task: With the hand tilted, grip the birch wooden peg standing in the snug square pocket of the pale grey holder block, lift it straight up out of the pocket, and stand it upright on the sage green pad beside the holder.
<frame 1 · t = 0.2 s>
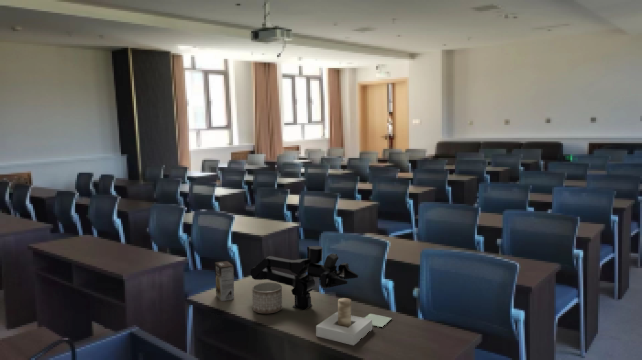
hand: (352, 279, 202), 17 cm above the table, tool horizontal, fingers open, 9 cm apart
green pad: (375, 321, 200), on the table
coffee box: (225, 297, 229), on the table
planter: (267, 310, 213), on the table
pocket block: (344, 332, 190), on the table
wooden peg: (344, 316, 189), in the pocket block
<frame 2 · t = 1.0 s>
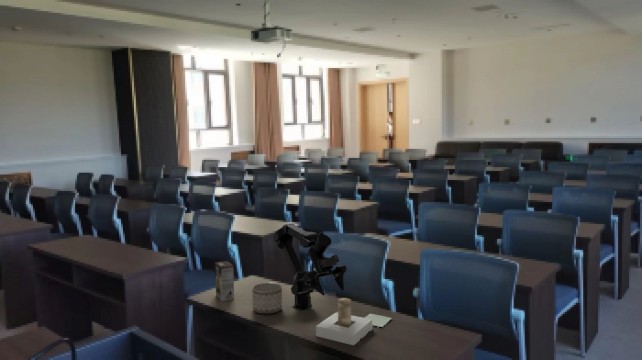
hand: (333, 292, 194), 14 cm above the table, tool tilted 45°, fingers open, 9 cm apart
nothing on the table moved.
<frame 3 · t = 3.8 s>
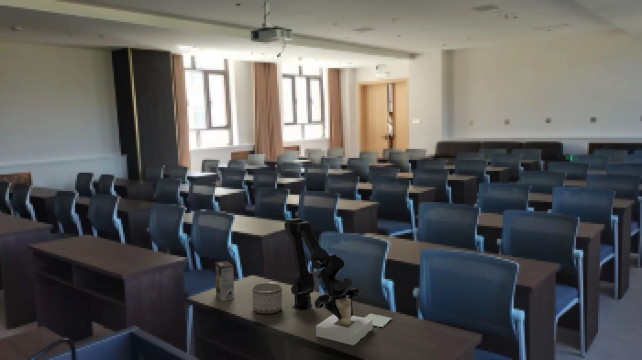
hand: (346, 317, 188), 7 cm above the table, tool tilted 45°, fingers closed on wooden peg, 5 cm apart
wooden peg: (344, 316, 189), in the pocket block, touching gripper
everything else where it was.
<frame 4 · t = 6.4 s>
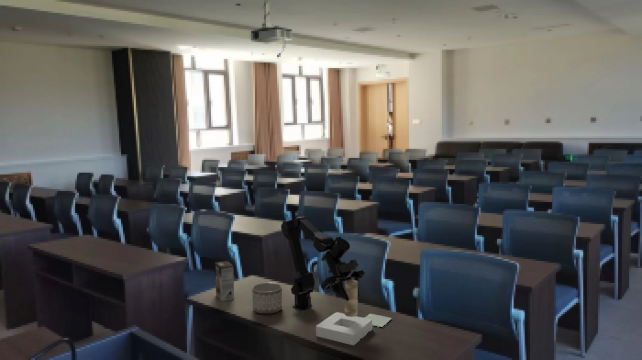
hand: (353, 298, 188), 14 cm above the table, tool tilted 45°, fingers closed on wooden peg, 5 cm apart
wooden peg: (351, 298, 189), point 13 cm above the table, touching gripper
everything else where it was.
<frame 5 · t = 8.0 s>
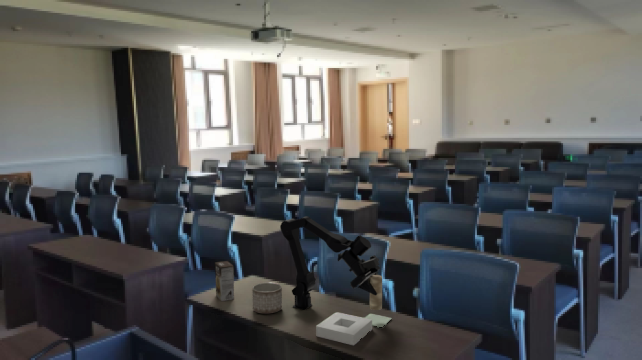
hand: (378, 292, 198), 12 cm above the table, tool tilted 45°, fingers closed on wooden peg, 5 cm apart
wooden peg: (375, 292, 199), point 12 cm above the table, touching gripper
everything else where it was.
when the fingers open (8 cm above the table, at t = 9.1 s): wooden peg drops 1 cm, resting on green pad.
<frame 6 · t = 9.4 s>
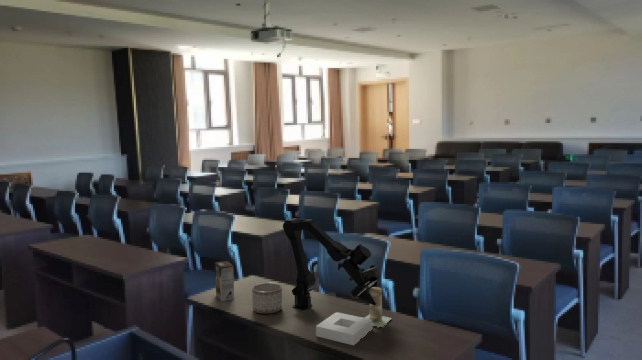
hand: (379, 301, 198), 9 cm above the table, tool tilted 45°, fingers open, 8 cm apart
wooden peg: (375, 304, 199), on the green pad, point 7 cm above the table
everything else where it was.
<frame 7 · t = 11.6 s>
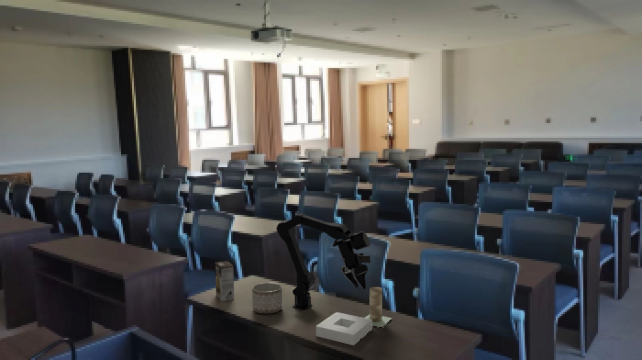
hand: (360, 288, 206), 12 cm above the table, tool tilted 20°, fingers open, 9 cm apart
nothing on the table moved.
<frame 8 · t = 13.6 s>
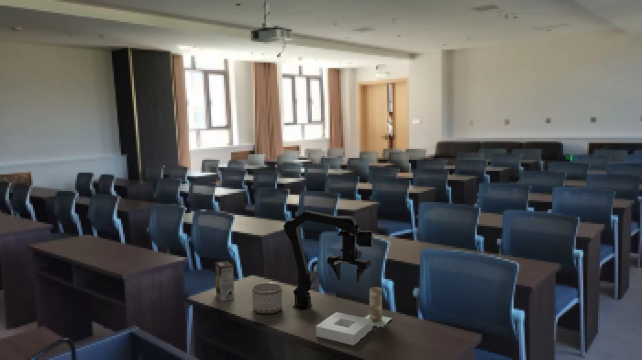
hand: (348, 281, 211), 13 cm above the table, tool pointing down, fingers open, 9 cm apart
nothing on the table moved.
at the end: wooden peg inside the target area on the green pad (0.1 cm from its centre), point 7.1 cm above the green pad's base; wooden peg tilted 1°; wooden peg touching green pad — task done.
